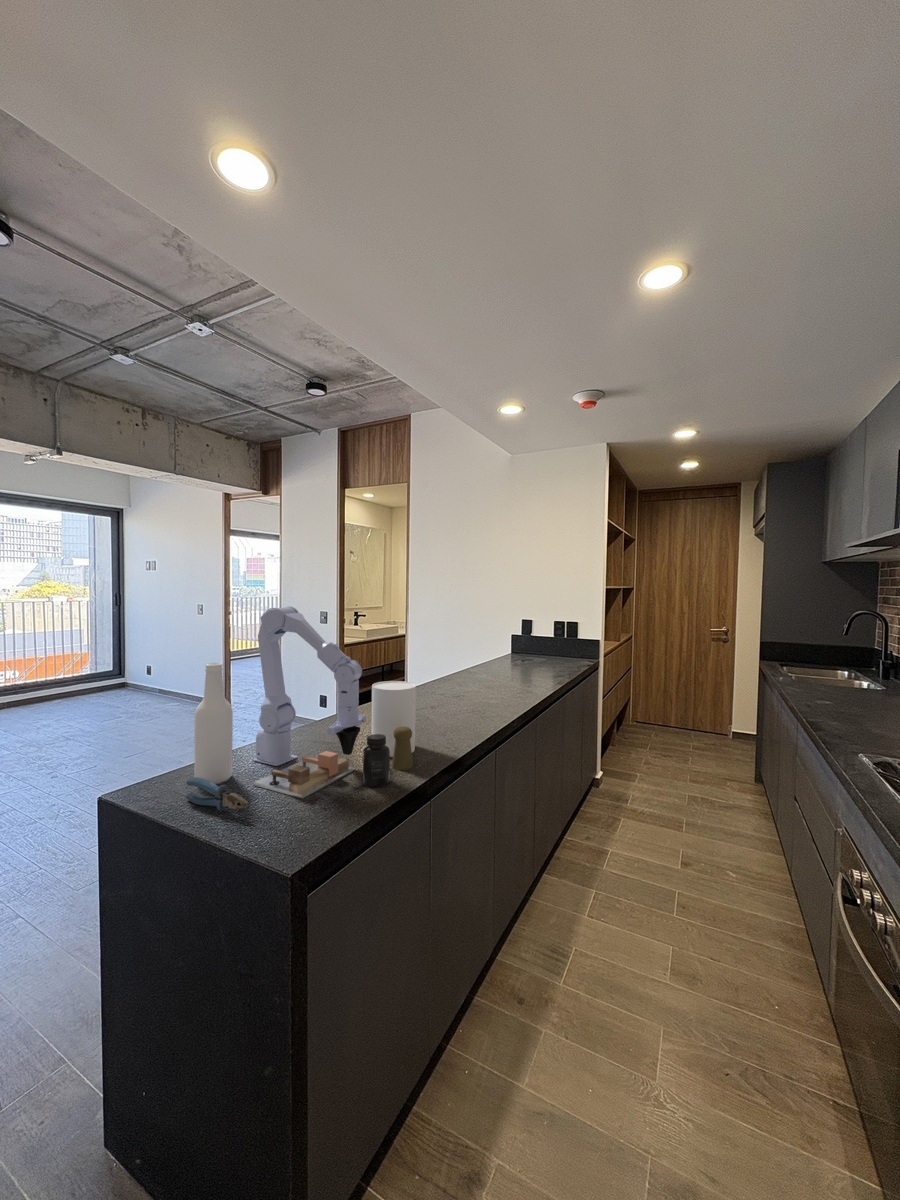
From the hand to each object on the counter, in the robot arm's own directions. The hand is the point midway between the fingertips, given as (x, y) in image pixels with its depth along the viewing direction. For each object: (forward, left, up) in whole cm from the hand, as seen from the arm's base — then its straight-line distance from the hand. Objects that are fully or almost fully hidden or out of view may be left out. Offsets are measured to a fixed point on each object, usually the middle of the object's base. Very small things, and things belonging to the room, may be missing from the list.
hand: (347, 753), depth 136 cm
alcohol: (-25, -23, -4) cm, 34 cm away
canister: (+3, +19, -4) cm, 20 cm away
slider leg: (-3, -8, -3) cm, 9 cm away
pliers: (-10, -34, -4) cm, 36 cm away
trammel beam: (-3, -11, -3) cm, 12 cm away
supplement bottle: (+13, -5, -4) cm, 14 cm away
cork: (+13, +8, -4) cm, 16 cm away
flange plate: (-5, -11, -4) cm, 13 cm away
